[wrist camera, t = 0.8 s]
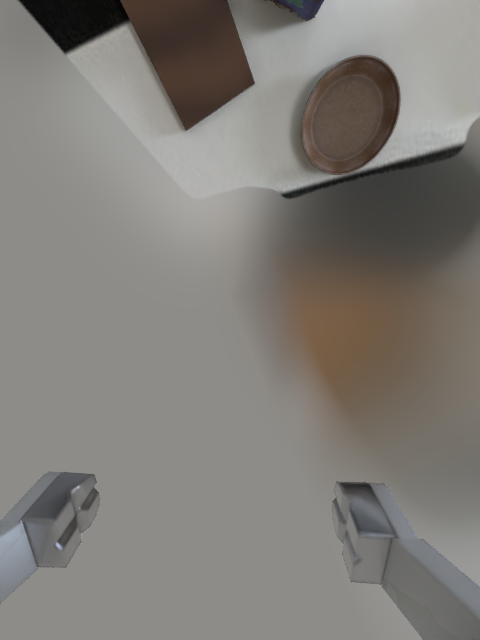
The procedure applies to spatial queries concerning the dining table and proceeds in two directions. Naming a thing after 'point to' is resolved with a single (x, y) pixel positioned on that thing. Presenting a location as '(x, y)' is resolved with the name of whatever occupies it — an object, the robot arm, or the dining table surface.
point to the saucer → (350, 114)
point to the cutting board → (192, 53)
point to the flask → (301, 7)
